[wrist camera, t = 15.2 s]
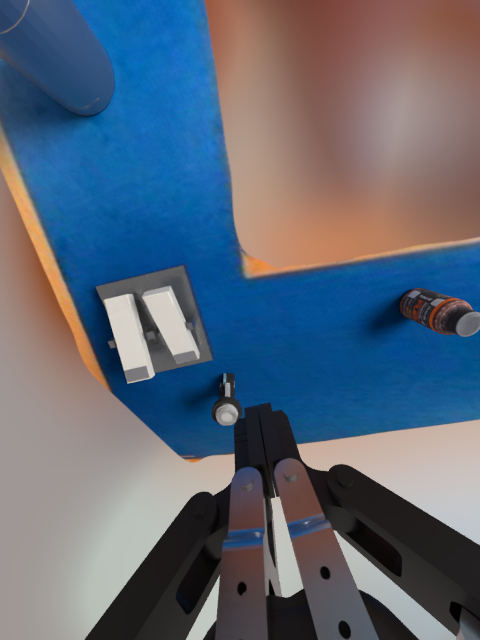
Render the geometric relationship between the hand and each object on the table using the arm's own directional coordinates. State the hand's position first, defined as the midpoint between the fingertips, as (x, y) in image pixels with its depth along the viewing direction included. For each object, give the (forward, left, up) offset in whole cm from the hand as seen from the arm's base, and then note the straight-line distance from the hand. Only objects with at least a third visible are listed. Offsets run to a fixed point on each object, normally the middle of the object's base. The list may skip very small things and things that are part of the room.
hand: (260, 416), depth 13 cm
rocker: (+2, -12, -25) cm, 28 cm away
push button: (+19, -7, -31) cm, 37 cm away
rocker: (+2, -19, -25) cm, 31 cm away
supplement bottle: (+10, +32, -31) cm, 46 cm away
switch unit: (+2, -15, -31) cm, 35 cm away
